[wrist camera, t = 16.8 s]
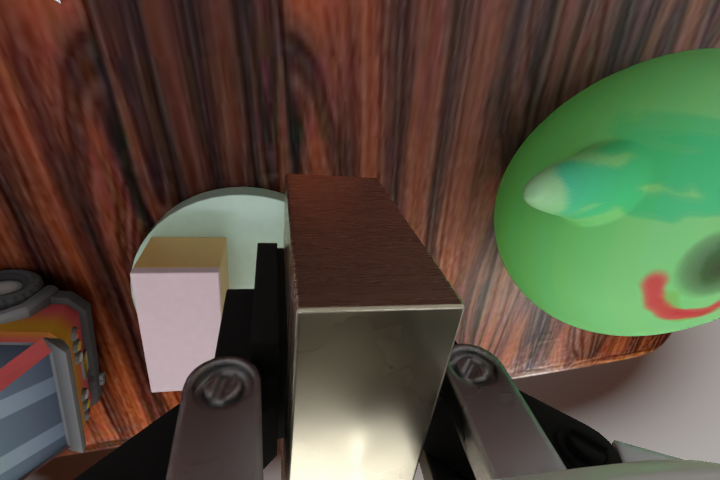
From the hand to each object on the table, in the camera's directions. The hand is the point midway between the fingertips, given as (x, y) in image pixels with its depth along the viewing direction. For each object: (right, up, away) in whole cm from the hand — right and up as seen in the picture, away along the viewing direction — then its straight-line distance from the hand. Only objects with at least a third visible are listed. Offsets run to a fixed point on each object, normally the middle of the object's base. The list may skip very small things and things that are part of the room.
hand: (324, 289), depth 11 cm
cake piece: (-10, -2, +15) cm, 19 cm away
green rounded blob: (+17, +8, +18) cm, 26 cm away
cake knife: (-1, -6, +3) cm, 7 cm away
